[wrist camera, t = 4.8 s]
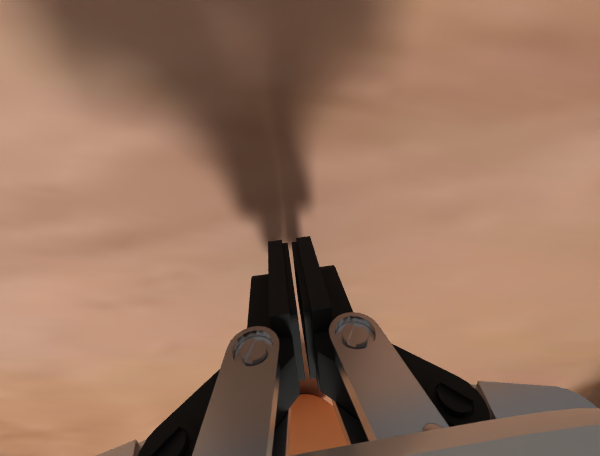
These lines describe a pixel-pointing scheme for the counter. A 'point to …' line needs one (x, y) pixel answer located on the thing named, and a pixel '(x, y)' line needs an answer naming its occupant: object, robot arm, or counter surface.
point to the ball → (313, 426)
